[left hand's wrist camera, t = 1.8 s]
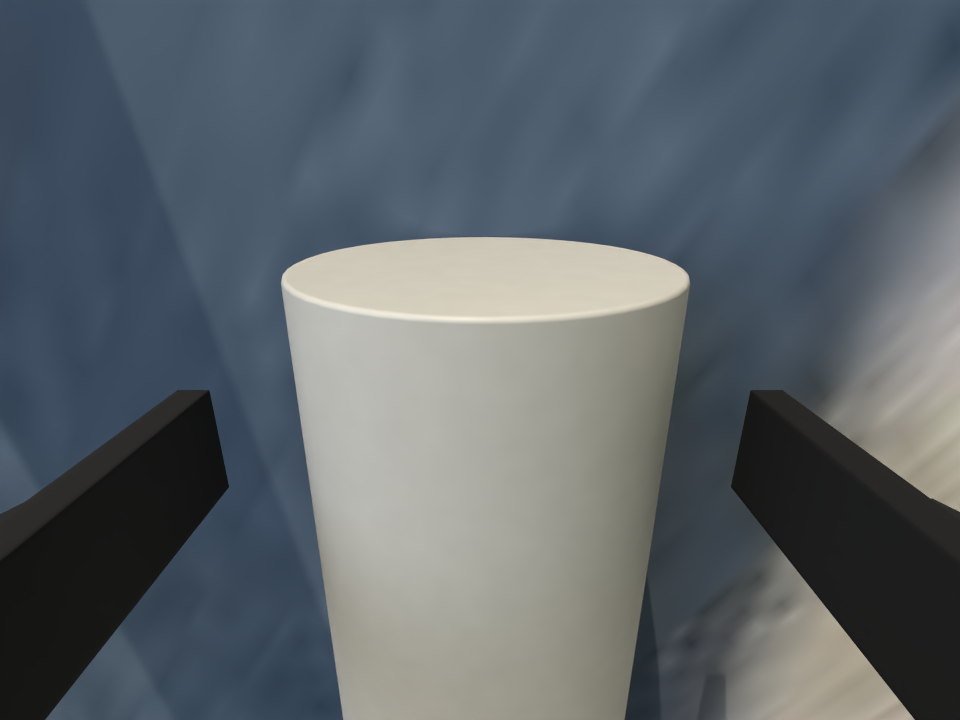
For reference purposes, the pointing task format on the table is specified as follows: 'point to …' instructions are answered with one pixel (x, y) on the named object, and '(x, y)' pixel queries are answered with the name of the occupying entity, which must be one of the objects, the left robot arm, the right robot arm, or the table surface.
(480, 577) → the rod
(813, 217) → the table surface
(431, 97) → the table surface
